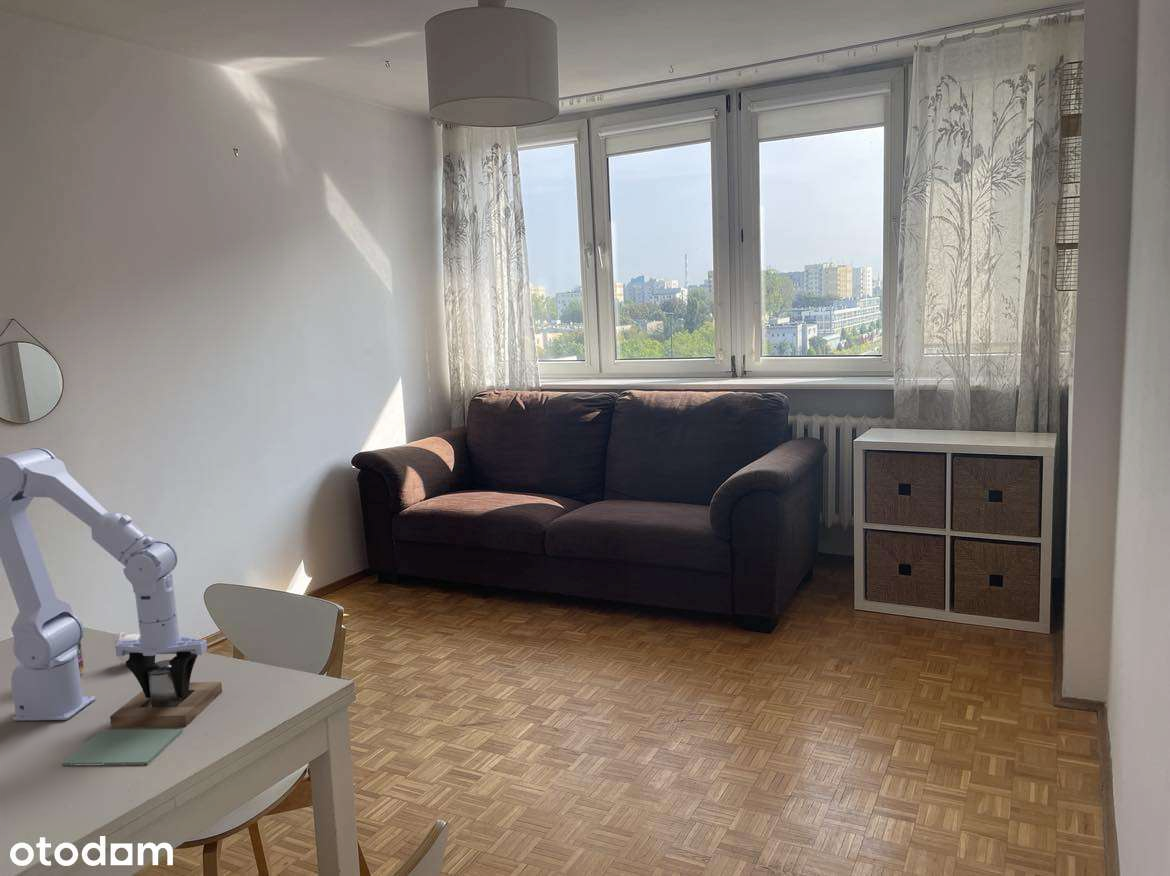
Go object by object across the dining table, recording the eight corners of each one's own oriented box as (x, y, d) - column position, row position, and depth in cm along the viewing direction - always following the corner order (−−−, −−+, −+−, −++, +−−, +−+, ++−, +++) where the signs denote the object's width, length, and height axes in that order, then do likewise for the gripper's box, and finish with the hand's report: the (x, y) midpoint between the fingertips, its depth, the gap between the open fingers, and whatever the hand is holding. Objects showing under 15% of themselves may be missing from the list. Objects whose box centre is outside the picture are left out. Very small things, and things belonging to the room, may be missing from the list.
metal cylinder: (146, 716, 145) (140, 672, 144) (162, 702, 150) (157, 659, 149) (175, 715, 145) (170, 671, 144) (190, 701, 150) (185, 659, 149)
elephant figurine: (106, 670, 165) (102, 639, 164) (135, 652, 173) (131, 623, 172) (139, 671, 164) (135, 640, 163) (166, 653, 172) (163, 624, 171)
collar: (111, 726, 142) (109, 716, 141) (153, 692, 154) (151, 683, 154) (186, 726, 141) (185, 715, 141) (222, 691, 153) (221, 681, 153)
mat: (62, 765, 130) (62, 762, 130) (102, 732, 140) (102, 730, 140) (147, 764, 129) (147, 762, 129) (182, 731, 139) (182, 729, 139)
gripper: (100, 626, 141) (111, 706, 144) (188, 625, 141) (197, 705, 143) (125, 611, 148) (135, 687, 151) (209, 609, 148) (218, 686, 150)
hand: (167, 695), depth 147 cm, fingers closed on metal cylinder, 5 cm apart
